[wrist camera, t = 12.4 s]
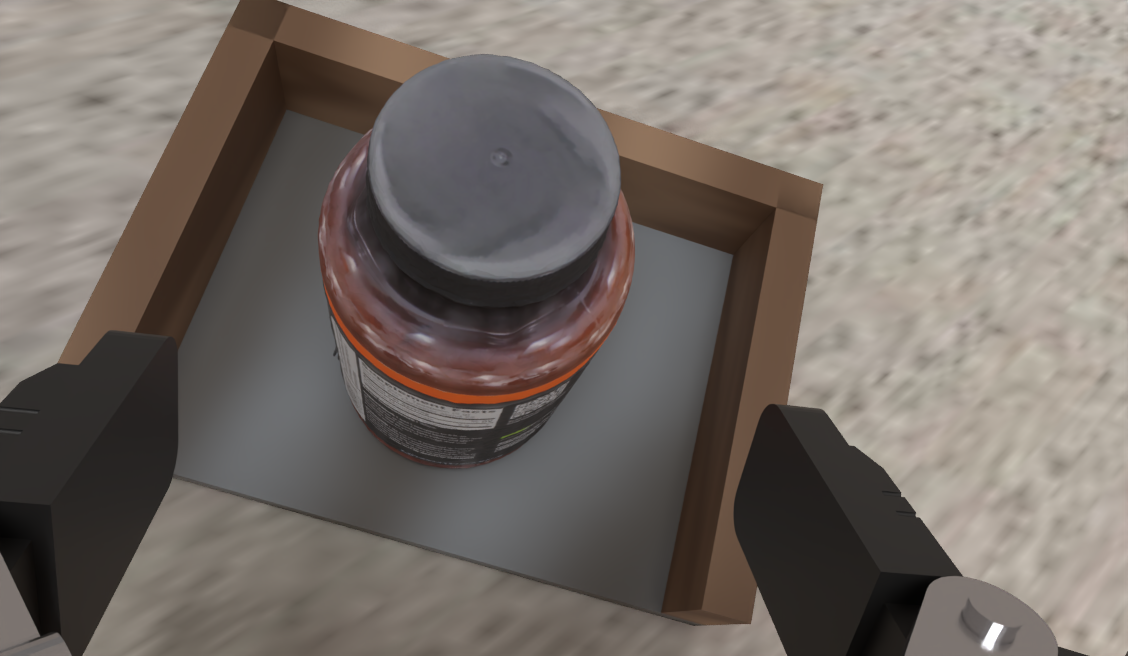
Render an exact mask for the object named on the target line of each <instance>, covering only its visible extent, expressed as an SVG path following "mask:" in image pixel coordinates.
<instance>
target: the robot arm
mask: <svg viewBox="0 0 1128 656" xmlns="http://www.w3.org/2000/svg"><path fill="white" fill-rule="evenodd" d="M177 453H178V351H177V345H176V341H175V339H174V338H173V337H171V336H162V335H153V334H144V333H135V332H126V331H117V330H110V331H108V332H107V333H105V334H104V336H103V337H102V338H101V339H100V340H99V342H98V343H97V344H96V345H95V346H94V347H93V349H92V350H91V351H90V352H89V353H88V355H87V356H86V357H85V358H84V359H83V360H82V362H81V363H80V364H79V365H72V364H62V363H57V364H55V365H53V366H51V367H49V368H47V369H45V370H43V371H41V372H39V373H37V374H35V375H33V376H31V377H29V378H27V379H25V380H23V381H21V382H20V383H19V384H18V385H17V386H16V387H15V388H14V389H13V390H12V391H11V392H10V393H9V395H8V396H7V397H6V398H5V399H4V400H3V401H2V402H1V403H0V656H82V655H83V653H84V651H85V649H86V647H87V645H88V644H89V642H90V640H91V638H92V636H93V634H94V632H95V630H96V628H97V626H98V624H99V622H100V620H101V618H102V616H103V614H104V612H105V610H106V609H107V607H108V605H109V603H110V601H111V599H112V597H113V595H114V593H115V591H116V589H117V587H118V585H119V583H120V581H121V579H122V577H123V576H124V574H125V572H126V570H127V568H128V566H129V564H130V562H131V560H132V558H133V556H134V554H135V552H136V550H137V548H138V546H139V544H140V543H141V541H142V539H143V537H144V535H145V533H146V531H147V529H148V527H149V525H150V523H151V521H152V519H153V517H154V515H155V513H156V511H157V510H158V508H159V506H160V504H161V502H162V500H163V498H164V496H165V494H166V492H167V490H168V488H169V486H170V483H171V480H172V477H173V473H174V470H175V465H176V460H177ZM915 514H916V512H915V511H914V509H913V508H912V507H911V505H910V504H909V503H908V501H907V500H906V498H905V497H901V492H900V490H899V489H898V488H897V486H896V485H895V484H894V482H893V481H892V480H891V478H890V477H889V475H888V474H887V473H886V471H885V470H884V469H883V468H882V467H881V466H879V465H878V464H877V463H876V462H874V461H873V460H872V459H870V458H869V457H868V456H867V455H865V454H864V453H863V452H861V451H860V450H859V449H857V448H856V447H855V446H849V445H848V443H847V442H846V440H845V439H844V438H843V436H842V435H841V433H840V432H839V431H838V429H837V428H836V426H835V425H834V423H833V422H832V421H831V419H830V418H829V416H828V415H827V414H826V413H825V411H823V410H822V409H817V408H808V407H799V406H790V405H781V404H769V405H768V406H767V407H766V408H765V409H764V410H763V412H762V414H761V416H760V419H759V421H758V424H757V428H756V431H755V434H754V437H753V440H752V443H751V447H750V450H749V453H748V456H747V459H746V462H745V466H744V469H743V472H742V475H741V478H740V481H739V485H738V488H737V491H736V495H735V500H734V511H733V518H734V528H735V532H736V536H737V539H738V541H739V543H740V546H741V548H742V550H743V553H744V555H745V557H746V560H747V562H748V564H749V567H750V569H751V572H752V574H753V576H754V579H755V581H756V583H757V586H758V588H759V590H760V593H761V595H762V597H763V600H764V602H765V604H766V607H767V609H768V611H769V614H770V616H771V618H772V621H773V623H774V625H775V628H776V630H777V633H778V635H779V637H780V640H781V642H782V644H783V647H784V649H785V651H786V654H787V656H1088V655H1084V654H1081V653H1078V652H1074V651H1071V650H1068V649H1064V648H1061V647H1058V644H1057V641H1056V638H1055V636H1054V634H1053V632H1052V631H1051V629H1050V628H1049V626H1048V625H1047V624H1046V622H1045V621H1044V620H1043V619H1042V618H1041V617H1040V616H1039V615H1038V614H1037V613H1036V612H1035V611H1034V610H1033V609H1031V608H1030V607H1029V606H1028V605H1026V604H1025V603H1024V602H1022V601H1021V600H1020V599H1018V598H1016V597H1015V596H1013V595H1011V594H1010V593H1008V592H1006V591H1004V590H1002V589H1000V588H998V587H996V586H994V585H991V584H989V583H986V582H983V581H980V580H977V579H972V578H968V577H963V576H962V574H961V573H960V572H959V570H958V569H957V568H956V566H955V565H954V563H953V562H952V561H951V559H950V558H949V557H948V555H947V554H946V553H945V551H944V550H943V549H942V547H941V546H940V544H939V543H938V542H937V540H936V539H935V538H934V536H933V535H932V534H931V532H930V531H929V530H928V528H927V527H926V526H925V524H924V523H923V521H922V520H921V519H920V518H918V517H916V516H915ZM1125 656H1128V652H1127V654H1126V655H1125Z"/></svg>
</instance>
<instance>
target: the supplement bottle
mask: <svg viewBox="0 0 1128 656" xmlns="http://www.w3.org/2000/svg"><path fill="white" fill-rule="evenodd" d="M320 212H321V214H320V216H319V228H318V246H319V259H320V267H321V273H322V277H323V287H324V290H325V296H326V299H327V303H328V311H329V318H330V321H331V328H332V332H333V335H334V339H335V344H336V348H335V350H334V353H333V356H334V357H335V355H336V353H338V360H340V369H341V373H342V377H343V380H344V383H345V386H346V389H347V391H348V394H349V396H350V399H351V402H352V405H353V407H354V409H355V410H356V412H357V413H358V415H359V418H360V419H361V420H362V421H363V423H364V424H365V426H366V427H367V429H368V430H369V431H370V432H371V433H372V434H373V435H374V436H375V437H376V438H377V439H378V440H379V441H380V442H381V443H383V444H384V445H385V446H387V447H388V448H389V449H391V450H393V451H394V452H396V453H398V454H400V455H401V456H403V457H405V458H408V459H410V460H412V461H415V462H418V463H421V464H424V465H429V466H435V467H440V468H451V469H453V468H471V467H475V466H479V465H483V464H487V463H490V462H493V461H495V460H499V459H501V458H503V457H505V456H506V455H509V454H511V453H512V452H514V451H515V450H517V449H518V448H520V447H521V446H522V445H523V444H525V443H526V442H527V441H528V440H529V439H531V438H532V437H533V436H534V435H535V434H536V433H537V432H538V431H539V430H541V429H542V427H543V426H544V425H545V424H546V422H547V421H548V420H549V418H550V417H551V415H552V414H553V413H554V411H555V410H556V409H557V407H558V406H559V405H560V403H561V402H562V401H563V399H564V398H565V397H566V395H567V394H568V392H569V391H570V390H571V388H572V387H573V385H574V384H575V383H576V381H577V380H578V378H579V377H580V376H581V374H582V373H583V371H584V370H585V368H586V367H587V366H588V365H589V363H590V361H591V360H592V359H593V357H594V356H595V355H596V353H597V352H598V350H599V349H600V347H601V346H602V344H603V343H604V341H605V340H606V339H607V337H608V335H609V334H610V332H611V331H612V329H613V328H614V326H615V325H616V323H617V320H618V318H619V316H620V314H621V312H622V309H623V307H624V304H625V301H626V299H627V296H628V293H629V290H630V286H631V283H632V276H633V272H634V263H635V240H634V230H633V225H632V219H631V216H630V212H629V208H628V205H627V202H626V200H625V197H624V195H623V192H622V190H621V170H620V160H619V153H618V149H617V146H616V144H615V141H614V138H613V136H612V133H611V131H610V129H609V127H608V125H607V123H606V121H605V120H604V118H603V117H602V115H601V114H600V112H599V111H598V109H597V108H596V107H595V106H594V105H593V103H592V102H591V101H590V100H589V99H588V98H587V97H586V96H585V95H584V94H583V93H582V92H581V91H580V90H579V89H578V88H576V87H575V86H573V85H572V84H571V83H569V82H568V81H567V80H565V79H563V78H562V77H561V76H559V75H557V74H555V73H553V72H551V71H550V70H548V69H545V68H542V67H540V66H538V65H536V64H534V63H531V62H528V61H524V60H520V59H516V58H513V57H508V56H497V55H490V54H478V55H470V56H463V57H458V58H453V59H448V60H444V61H442V62H440V63H438V64H435V65H433V66H430V67H428V68H426V69H424V70H422V71H420V72H418V73H417V74H415V75H414V76H412V77H411V78H410V79H408V80H407V81H405V82H404V83H403V84H402V85H401V86H400V87H399V88H398V89H397V90H396V91H395V92H394V93H393V94H392V95H391V97H390V98H389V99H388V101H387V102H386V103H385V105H384V107H383V108H382V110H381V112H380V113H379V115H378V117H377V118H376V120H375V123H374V126H373V128H372V129H371V130H369V131H368V132H367V133H366V134H365V135H364V136H363V137H362V138H361V139H360V140H359V142H358V143H357V144H356V145H355V146H354V147H353V148H352V149H351V151H350V152H349V153H348V154H347V155H346V157H345V158H344V159H343V160H342V162H341V163H340V164H339V166H338V168H337V170H336V171H335V174H334V176H333V178H332V180H331V181H330V183H329V185H328V189H327V191H326V194H325V196H324V199H323V202H322V206H321V211H320Z"/></svg>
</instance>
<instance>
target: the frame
mask: <svg viewBox="0 0 1128 656" xmlns="http://www.w3.org/2000/svg"><path fill="white" fill-rule="evenodd" d="M448 59H449V58H446V57H443V56H440V55H437V54H434V53H431V52H428V51H425V50H422V49H419V48H417V47H414V46H411V45H408V44H405V43H402V42H399V41H396V40H393V39H390V38H387V37H384V36H381V35H378V34H375V33H372V32H369V31H366V30H363V29H360V28H357V27H354V26H351V25H348V24H345V23H342V22H339V21H336V20H333V19H330V18H327V17H325V16H322V15H319V14H316V13H313V12H310V11H307V10H304V9H301V8H298V7H295V6H292V5H289V4H286V3H283V2H280V1H277V0H240V2H239V4H238V6H237V8H236V10H235V12H234V14H233V16H232V18H231V20H230V22H229V24H228V26H227V28H226V30H225V32H224V34H223V36H222V38H221V40H220V42H219V44H218V45H217V47H216V49H215V51H214V53H213V55H212V57H211V59H210V61H209V63H208V65H207V67H206V69H205V71H204V73H203V75H202V77H201V79H200V81H199V83H198V85H197V87H196V89H195V91H194V93H193V95H192V97H191V99H190V101H189V103H188V105H187V107H186V109H185V111H184V113H183V115H182V117H181V119H180V121H179V123H178V125H177V127H176V129H175V131H174V133H173V135H172V137H171V139H170V141H169V143H168V145H167V147H166V149H165V151H164V153H163V155H162V157H161V159H160V161H159V162H158V164H157V166H156V168H155V170H154V172H153V174H152V176H151V178H150V180H149V182H148V184H147V186H146V188H145V190H144V192H143V194H142V196H141V198H140V200H139V202H138V204H137V206H136V208H135V210H134V212H133V214H132V216H131V218H130V220H129V222H128V224H127V226H126V228H125V230H124V232H123V234H122V236H121V238H120V240H119V242H118V244H117V246H116V248H115V250H114V252H113V254H112V256H111V258H110V260H109V262H108V264H107V266H106V268H105V270H104V272H103V274H102V276H101V278H100V279H99V281H98V283H97V285H96V287H95V289H94V291H93V293H92V295H91V297H90V299H89V301H88V303H87V305H86V307H85V309H84V311H83V313H82V315H81V317H80V319H79V321H78V323H77V325H76V327H75V329H74V331H73V333H72V335H71V337H70V339H69V341H68V343H67V345H66V347H65V349H64V351H63V353H62V355H61V357H60V359H59V361H58V363H62V364H72V365H79V364H80V363H81V362H82V360H83V359H84V358H85V357H86V356H87V355H88V353H89V352H90V351H91V350H92V349H93V347H94V346H95V345H96V344H97V343H98V342H99V340H100V339H101V338H102V337H103V336H104V334H105V333H107V332H108V331H110V330H117V331H126V332H135V333H144V334H153V335H162V336H171V337H173V338H174V339H175V341H176V345H177V351H178V453H177V460H176V465H175V470H174V473H173V477H174V478H178V479H181V480H185V481H188V482H192V483H195V484H199V485H202V486H206V487H209V488H213V489H216V490H220V491H223V492H227V493H230V494H234V495H237V496H241V497H244V498H248V499H251V500H255V501H259V502H262V503H266V504H269V505H273V506H276V507H280V508H283V509H287V510H290V511H294V512H297V513H301V514H304V515H308V516H311V517H315V518H318V519H322V520H325V521H329V522H332V523H336V524H339V525H343V526H346V527H350V528H353V529H357V530H360V531H364V532H367V533H371V534H374V535H378V536H381V537H385V538H388V539H392V540H395V541H399V542H402V543H406V544H409V545H413V546H416V547H420V548H423V549H427V550H430V551H434V552H438V553H441V554H445V555H448V556H452V557H455V558H459V559H462V560H466V561H469V562H473V563H476V564H480V565H483V566H487V567H490V568H494V569H497V570H501V571H504V572H508V573H511V574H515V575H518V576H522V577H525V578H529V579H532V580H536V581H539V582H543V583H546V584H550V585H553V586H557V587H560V588H564V589H567V590H571V591H574V592H578V593H581V594H585V595H588V596H592V597H595V598H599V599H602V600H606V601H609V602H613V603H617V604H620V605H624V606H627V607H631V608H634V609H638V610H641V611H645V612H648V613H652V614H655V615H659V616H662V617H666V618H669V619H673V620H676V621H680V622H683V623H687V624H690V625H694V626H695V625H727V624H751V620H752V614H753V608H754V602H755V596H756V590H757V583H756V581H755V579H754V576H753V574H752V572H751V569H750V567H749V564H748V562H747V560H746V557H745V555H744V553H743V550H742V548H741V546H740V543H739V541H738V539H737V536H736V532H735V528H734V518H733V511H734V500H735V495H736V491H737V488H738V485H739V481H740V478H741V475H742V472H743V469H744V466H745V462H746V459H747V456H748V453H749V450H750V447H751V443H752V440H753V437H754V434H755V431H756V428H757V424H758V421H759V419H760V416H761V414H762V412H763V410H764V409H765V408H766V407H767V406H768V405H769V404H781V405H787V401H788V395H789V389H790V383H791V377H792V370H793V364H794V358H795V352H796V346H797V340H798V334H799V328H800V322H801V316H802V310H803V304H804V297H805V291H806V285H807V279H808V273H809V267H810V261H811V255H812V249H813V243H814V237H815V231H816V224H817V218H818V212H819V206H820V200H821V194H822V188H823V184H820V183H817V182H814V181H811V180H808V179H805V178H802V177H799V176H796V175H793V174H790V173H788V172H785V171H782V170H779V169H776V168H773V167H770V166H767V165H764V164H761V163H758V162H755V161H752V160H749V159H746V158H743V157H740V156H737V155H734V154H731V153H728V152H725V151H722V150H719V149H716V148H713V147H710V146H707V145H704V144H701V143H698V142H696V141H693V140H690V139H687V138H684V137H681V136H678V135H675V134H672V133H669V132H666V131H663V130H660V129H657V128H654V127H651V126H648V125H645V124H642V123H639V122H636V121H633V120H630V119H627V118H624V117H621V116H618V115H615V114H612V113H609V112H606V111H603V110H601V109H598V108H597V109H598V111H599V112H600V114H601V115H602V117H603V118H604V120H605V121H606V123H607V125H608V127H609V129H610V131H611V133H612V136H613V138H614V141H615V144H616V146H617V149H618V153H619V160H620V170H621V190H622V192H623V195H624V197H625V200H626V202H627V205H628V208H629V212H630V216H631V219H632V225H633V230H634V240H635V263H634V272H633V276H632V283H631V286H630V290H629V293H628V296H627V299H626V301H625V304H624V307H623V309H622V312H621V314H620V316H619V318H618V320H617V323H616V325H615V326H614V328H613V329H612V331H611V332H610V334H609V335H608V337H607V339H606V340H605V341H604V343H603V344H602V346H601V347H600V349H599V350H598V352H597V353H596V355H595V356H594V357H593V359H592V360H591V361H590V363H589V365H588V366H587V367H586V368H585V370H584V371H583V373H582V374H581V376H580V377H579V378H578V380H577V381H576V383H575V384H574V385H573V387H572V388H571V390H570V391H569V392H568V394H567V395H566V397H565V398H564V399H563V401H562V402H561V403H560V405H559V406H558V407H557V409H556V410H555V411H554V413H553V414H552V415H551V417H550V418H549V420H548V421H547V422H546V424H545V425H544V426H543V427H542V429H541V430H539V431H538V432H537V433H536V434H535V435H534V436H533V437H532V438H531V439H529V440H528V441H527V442H526V443H525V444H523V445H522V446H521V447H520V448H518V449H517V450H515V451H514V452H512V453H511V454H509V455H506V456H505V457H503V458H501V459H499V460H495V461H493V462H490V463H487V464H483V465H479V466H475V467H471V468H453V469H451V468H440V467H435V466H429V465H424V464H421V463H418V462H415V461H412V460H410V459H408V458H405V457H403V456H401V455H400V454H398V453H396V452H394V451H393V450H391V449H389V448H388V447H387V446H385V445H384V444H383V443H381V442H380V441H379V440H378V439H377V438H376V437H375V436H374V435H373V434H372V433H371V432H370V431H369V430H368V429H367V427H366V426H365V424H364V423H363V421H362V420H361V419H360V418H359V415H358V413H357V412H356V410H355V409H354V407H353V405H352V402H351V399H350V396H349V394H348V391H347V389H346V386H345V383H344V380H343V377H342V373H341V369H340V360H338V353H336V355H335V357H334V356H333V353H334V350H335V348H336V344H335V339H334V335H333V332H332V328H331V321H330V318H329V311H328V303H327V299H326V296H325V290H324V287H323V277H322V273H321V267H320V259H319V246H318V228H319V216H320V214H321V212H320V211H321V206H322V202H323V199H324V196H325V194H326V191H327V189H328V185H329V183H330V181H331V180H332V178H333V176H334V174H335V171H336V170H337V168H338V166H339V164H340V163H341V162H342V160H343V159H344V158H345V157H346V155H347V154H348V153H349V152H350V151H351V149H352V148H353V147H354V146H355V145H356V144H357V143H358V142H359V140H360V139H361V138H362V137H363V136H364V135H365V134H366V133H367V132H368V131H369V130H371V129H372V128H373V126H374V123H375V120H376V118H377V117H378V115H379V113H380V112H381V110H382V108H383V107H384V105H385V103H386V102H387V101H388V99H389V98H390V97H391V95H392V94H393V93H394V92H395V91H396V90H397V89H398V88H399V87H400V86H401V85H402V84H403V83H404V82H405V81H407V80H408V79H410V78H411V77H412V76H414V75H415V74H417V73H418V72H420V71H422V70H424V69H426V68H428V67H430V66H433V65H435V64H438V63H440V62H442V61H444V60H448Z"/></svg>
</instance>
